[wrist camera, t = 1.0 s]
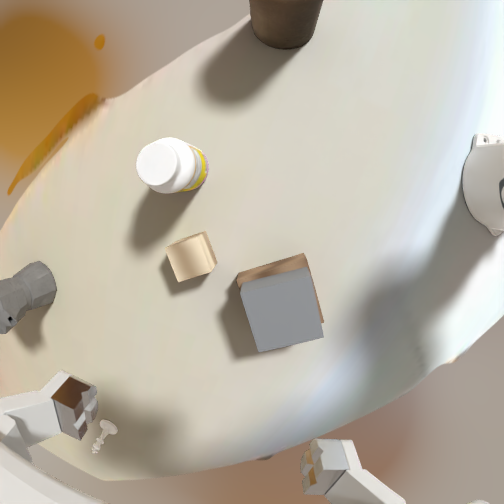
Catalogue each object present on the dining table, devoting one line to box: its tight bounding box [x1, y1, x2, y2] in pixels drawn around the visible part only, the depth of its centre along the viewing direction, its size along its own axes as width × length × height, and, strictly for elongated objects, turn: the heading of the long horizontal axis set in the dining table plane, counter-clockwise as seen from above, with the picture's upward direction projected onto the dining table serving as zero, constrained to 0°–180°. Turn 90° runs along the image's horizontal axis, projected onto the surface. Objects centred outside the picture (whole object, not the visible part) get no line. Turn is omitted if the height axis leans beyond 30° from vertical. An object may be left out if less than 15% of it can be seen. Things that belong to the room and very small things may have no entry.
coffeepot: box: [0, 261, 57, 334], centre depth 38 cm, size 15×9×18 cm, turn 78°
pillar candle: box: [249, 0, 323, 49], centre depth 27 cm, size 10×10×15 cm
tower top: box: [240, 267, 324, 352], centre depth 39 cm, size 9×9×4 cm
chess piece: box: [91, 419, 118, 454], centre depth 50 cm, size 5×5×10 cm
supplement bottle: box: [136, 137, 209, 194], centre depth 34 cm, size 7×7×13 cm
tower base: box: [236, 253, 324, 323], centre depth 42 cm, size 10×10×4 cm
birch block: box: [165, 231, 217, 282], centre depth 41 cm, size 5×5×5 cm
